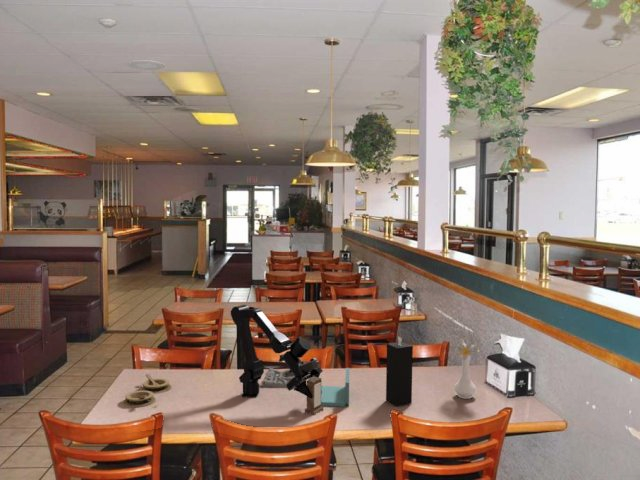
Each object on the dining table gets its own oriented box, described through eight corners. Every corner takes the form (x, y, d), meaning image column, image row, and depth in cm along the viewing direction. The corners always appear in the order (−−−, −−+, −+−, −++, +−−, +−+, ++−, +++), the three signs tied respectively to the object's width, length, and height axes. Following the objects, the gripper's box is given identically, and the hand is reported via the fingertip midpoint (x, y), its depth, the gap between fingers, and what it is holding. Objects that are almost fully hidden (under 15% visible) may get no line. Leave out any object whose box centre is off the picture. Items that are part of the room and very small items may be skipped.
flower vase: (469, 388, 250) (470, 334, 248) (486, 403, 231) (488, 344, 230) (441, 389, 248) (443, 334, 246) (457, 404, 230) (458, 345, 228)
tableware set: (154, 410, 222) (154, 396, 222) (109, 408, 225) (108, 393, 225) (182, 386, 252) (182, 373, 251) (141, 384, 254) (141, 371, 254)
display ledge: (310, 405, 227) (310, 381, 227) (313, 388, 247) (313, 367, 247) (348, 406, 226) (349, 382, 226) (349, 389, 246) (349, 368, 246)
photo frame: (304, 412, 220) (304, 380, 219) (313, 407, 225) (313, 376, 224) (314, 414, 217) (315, 382, 216) (323, 410, 222) (323, 378, 221)
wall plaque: (302, 389, 249) (302, 380, 248) (260, 388, 249) (260, 380, 249) (305, 372, 272) (305, 365, 272) (266, 372, 273) (266, 364, 272)
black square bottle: (396, 407, 226) (397, 340, 224) (385, 400, 233) (386, 336, 231) (411, 403, 230) (413, 338, 228) (400, 397, 237) (401, 334, 235)
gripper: (292, 358, 214) (315, 391, 209) (319, 347, 229) (341, 378, 224) (276, 374, 219) (298, 407, 214) (303, 362, 234) (325, 393, 229)
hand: (316, 395), depth 220 cm, fingers closed on photo frame, 6 cm apart
